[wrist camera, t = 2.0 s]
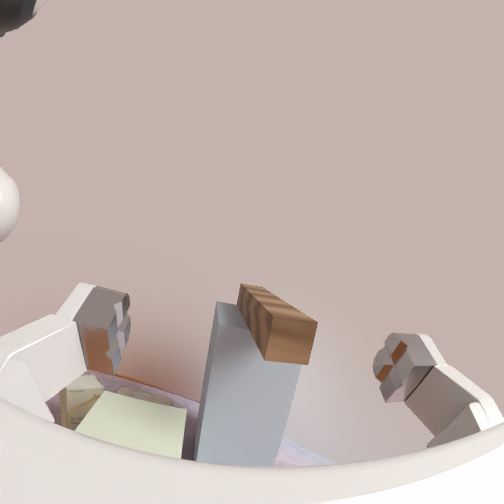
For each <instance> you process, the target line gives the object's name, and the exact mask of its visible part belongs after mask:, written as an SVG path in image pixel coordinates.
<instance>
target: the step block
mask: <svg viewBox="0 0 504 504" xmlns="http://www.w3.org/2000/svg"><path fill="white" fill-rule="evenodd" d="M186 413H187V409H183V408H177V407H172V406H167V405H162V404H157V403H153V402H148V401H144V400H140V399H136V398H132V397H128V396H124V395H120V394H117V393H113V392H109V391H106V390H105V391H104V392H103V394H102V395H101V396H100V398H99V399H98V400H97V402H96V403H95V404H94V406H93V407H92V408H91V410H90V411H89V412H88V413H87V415H86V416H85V417H84V419H83V420H82V422H81V423H80V424H79V426H78V427H77V428H76V430H75V431H76V432H79V433H82V434H84V435H87V436H90V437H93V438H96V439H100V440H103V441H106V442H109V443H113V444H116V445H120V446H124V447H127V448H131V449H135V450H140V451H144V452H148V453H153V454H158V455H163V456H168V457H173V458H179V459H181V454H182V445H183V437H184V429H185V421H186Z"/></svg>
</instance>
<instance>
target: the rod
mask: <svg viewBox="0 0 504 504" xmlns="http://www.w3.org/2000/svg"><path fill="white" fill-rule="evenodd" d="M237 306H238V308H239V310H240V312H241V314H242V317H243V319H244V321H245V323H246V325H247V327H248V329H249V331H250V333H251V335H252V337H253V339H254V341H255V343H256V345H257V347H258V349H259V351H260V353H261V355H262V357H263V359H264V361H272V362H282V363H292V364H303V365H308V363H309V358H310V354H311V350H312V345H313V341H314V337H315V333H316V328H317V324H318V322H317V321H315V320H313V319H311V318H310V317H309V316H307V315H305V314H304V313H302V312H301V311H299V310H297V309H296V308H294V307H293V306H291V305H289V304H288V303H286V302H285V301H283V300H281V299H280V298H278V297H277V296H275V295H274V294H272V293H271V292H269V291H267V290H266V289H264V288H263V287H258V286H252V285H246V284H241V285H240V291H239V296H238V302H237Z"/></svg>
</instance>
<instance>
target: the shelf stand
mask: <svg viewBox="0 0 504 504" xmlns="http://www.w3.org/2000/svg"><path fill="white" fill-rule="evenodd" d="M300 368H301V364H292V363H282V362H272V361H264V359H263V357H262V355H261V353H260V351H259V349H258V347H257V345H256V343H255V341H254V339H253V337H252V335H251V333H250V331H249V329H248V327H247V325H246V323H245V321H244V319H243V317H242V314H241V312H240V310H239V308H238V306H237V305H234V304H228V303H223V302H217V303H216V309H215V315H214V320H213V326H212V332H211V338H210V344H209V350H208V356H207V362H206V369H205V374H204V381H203V387H202V394H201V400H200V407H199V413H198V420H197V427H196V434H195V447H194V461H199V462H207V463H216V464H226V465H239V466H258V467H273V465H274V462H275V459H276V455H277V452H278V449H279V446H280V442H281V439H282V436H283V432H284V429H285V425H286V421H287V418H288V414H289V411H290V407H291V404H292V400H293V396H294V392H295V388H296V384H297V380H298V376H299V372H300Z"/></svg>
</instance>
